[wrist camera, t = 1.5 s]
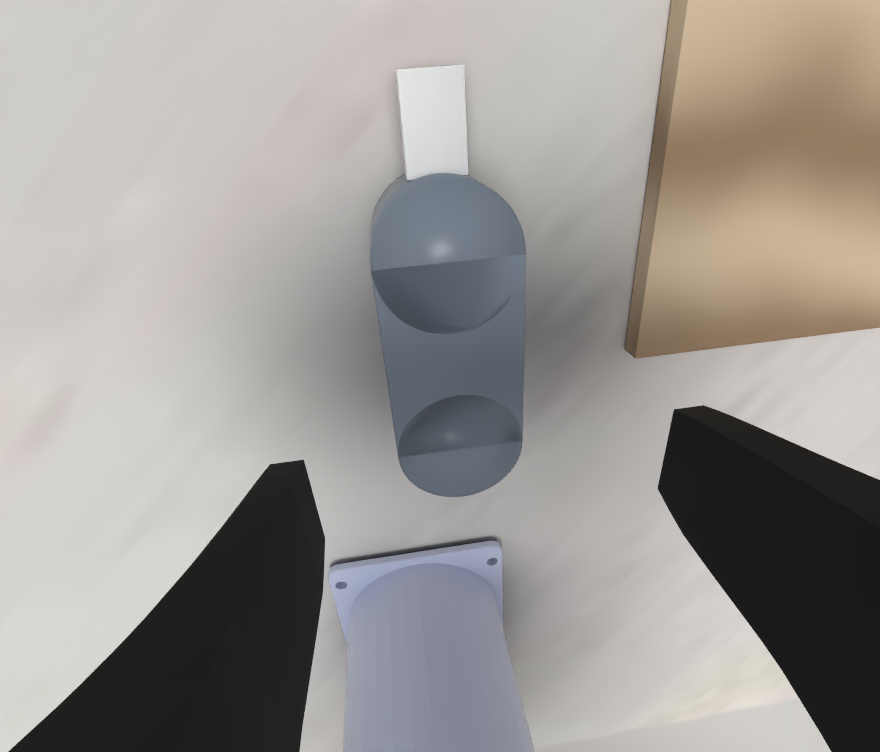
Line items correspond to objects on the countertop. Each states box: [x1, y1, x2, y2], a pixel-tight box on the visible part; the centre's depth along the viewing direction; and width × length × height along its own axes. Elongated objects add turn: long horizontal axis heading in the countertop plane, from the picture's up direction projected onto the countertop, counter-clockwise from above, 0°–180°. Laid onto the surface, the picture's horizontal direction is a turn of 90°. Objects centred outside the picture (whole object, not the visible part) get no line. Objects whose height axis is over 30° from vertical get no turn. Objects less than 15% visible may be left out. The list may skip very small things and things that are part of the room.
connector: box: [370, 65, 526, 497], centre depth 14 cm, size 12×4×4 cm, turn 4°
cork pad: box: [625, 0, 880, 358], centre depth 15 cm, size 12×12×1 cm
